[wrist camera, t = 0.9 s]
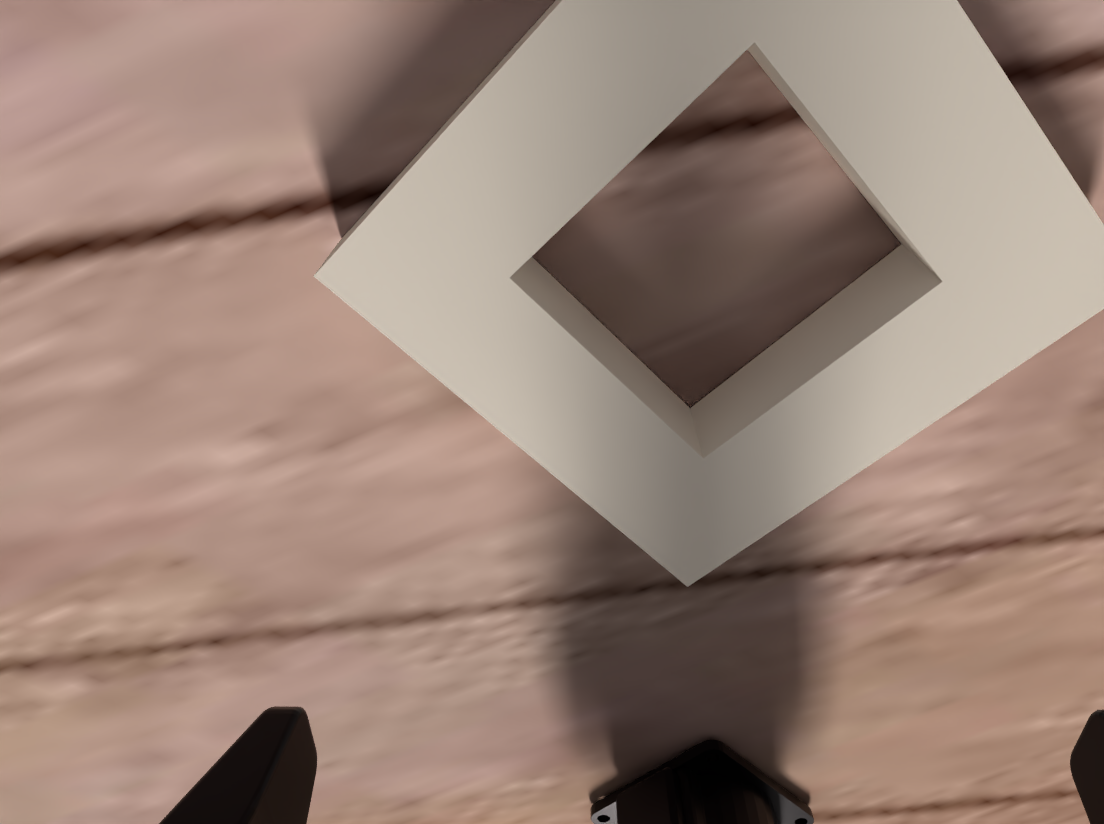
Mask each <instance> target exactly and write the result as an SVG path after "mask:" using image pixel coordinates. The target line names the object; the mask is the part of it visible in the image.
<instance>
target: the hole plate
mask: <svg viewBox="0 0 1104 824" xmlns="http://www.w3.org/2000/svg"><path fill="white" fill-rule="evenodd" d="M746 50H748V51H749V52H750V54H751V55H752V56H753V58H754V59H755V60H756V61H757V63H758V64H759V65H760V66H761V68H762V69H763V70H764V71H765V73H766V74H767V75H768V76H769V78H770V79H771V80H772V81H773V83H774V84H775V85H776V86H777V88H778V89H779V90H780V92H781V93H782V94H783V95H784V97H785V98H786V99H787V100H788V102H789V103H790V104H791V105H792V107H793V108H794V109H795V110H796V112H797V113H798V114H799V115H800V117H801V118H802V119H803V121H804V122H805V123H806V124H807V126H808V127H809V128H810V129H811V131H812V132H813V133H814V134H815V136H816V137H817V138H818V139H819V141H820V142H821V143H822V144H823V146H824V147H825V148H826V150H827V151H828V152H829V153H830V155H831V156H832V157H833V158H834V160H835V161H836V162H837V163H838V165H839V166H840V167H841V168H842V170H843V171H844V172H845V173H846V175H847V176H848V177H849V178H850V180H851V181H852V182H853V184H854V185H855V186H856V187H857V189H858V190H859V191H860V192H861V194H862V195H863V196H864V197H865V199H866V200H867V201H868V202H869V204H870V205H871V206H872V207H873V209H874V210H875V211H876V213H877V214H878V215H879V216H880V218H881V219H882V220H883V221H884V223H885V224H886V225H887V226H888V228H889V229H890V230H891V231H892V233H893V234H894V235H895V236H896V238H897V239H898V240H899V241H900V243H901V245H900V246H899V247H897V248H896V249H895V250H893V251H892V252H891V253H890V254H888V255H887V256H886V257H884V258H883V259H882V260H881V261H879V262H878V263H877V264H875V265H874V266H873V267H872V268H870V269H869V270H868V271H866V272H865V273H864V274H863V275H861V276H860V277H859V278H857V279H856V280H855V281H853V282H852V283H851V284H850V285H848V286H847V287H846V288H844V289H843V290H842V291H841V292H839V293H838V294H837V295H835V296H834V297H833V298H832V299H830V300H829V301H828V302H826V303H825V304H824V305H823V306H821V307H820V308H819V309H817V310H816V311H815V312H814V313H812V314H811V315H810V316H808V317H807V318H806V319H805V320H803V321H802V322H801V323H799V324H798V325H797V326H795V327H794V328H793V329H792V330H790V331H789V332H788V333H786V334H785V335H784V336H783V337H781V338H780V339H779V340H777V341H776V342H775V343H774V344H772V345H771V346H770V347H768V348H767V349H766V350H765V351H763V352H762V353H761V354H759V355H758V356H757V357H756V358H754V359H753V360H752V361H750V362H749V363H748V364H746V365H745V366H744V367H743V368H741V369H740V370H739V371H737V372H736V373H735V374H734V375H732V376H731V377H730V378H728V379H727V380H726V381H725V382H723V383H722V384H721V385H719V386H718V387H717V388H716V389H714V390H713V391H712V392H710V393H709V394H708V395H707V396H705V397H704V398H703V399H701V400H700V401H699V402H698V403H696V404H695V405H694V406H692V407H691V408H689V407H688V406H687V405H686V404H685V403H684V402H683V401H682V400H681V399H680V398H679V397H678V396H677V395H676V394H675V393H674V392H673V391H672V390H670V389H669V388H668V387H667V386H666V385H665V384H664V383H663V382H662V381H661V380H660V379H659V378H658V377H657V376H656V375H655V374H654V373H653V372H652V371H651V370H650V369H649V368H648V367H646V366H645V365H644V364H643V363H642V362H641V361H640V360H639V359H638V358H637V357H636V356H635V355H634V354H633V353H632V352H631V351H630V350H629V349H628V348H627V347H626V346H625V345H624V344H622V343H621V342H620V341H619V340H618V339H617V338H616V337H615V336H614V335H613V334H612V333H611V332H610V331H609V330H608V329H607V328H606V327H605V326H604V325H603V324H602V323H601V322H600V321H598V320H597V319H596V318H595V317H594V316H593V315H592V314H591V313H590V312H589V311H588V310H587V309H586V308H585V307H584V306H583V305H582V304H581V303H580V302H579V301H578V300H577V299H576V298H574V297H573V296H572V295H571V294H570V293H569V292H568V291H567V290H566V289H565V288H564V287H563V286H562V285H561V284H560V283H559V282H558V281H557V280H556V279H555V278H554V277H553V276H552V275H550V274H549V273H548V272H547V271H546V270H545V269H544V268H543V267H542V266H541V265H540V264H539V263H538V262H537V261H536V260H535V259H534V258H533V257H532V256H533V255H534V254H535V253H536V252H537V251H538V250H539V249H540V248H541V247H542V246H543V245H544V244H545V243H546V242H547V241H548V240H549V239H550V238H551V237H552V236H554V235H555V234H556V233H557V232H558V231H559V230H560V229H561V228H562V227H563V226H564V225H565V224H566V223H567V222H568V221H569V220H570V219H571V218H572V217H573V216H574V215H575V214H576V213H577V212H579V211H580V210H581V209H582V208H583V207H584V206H585V205H586V204H587V203H588V202H589V201H590V200H591V199H592V198H593V197H594V196H595V195H596V194H597V193H598V192H599V191H600V190H601V189H602V188H603V187H605V186H606V185H607V184H608V183H609V182H610V181H611V180H612V179H613V178H614V177H615V176H616V175H617V174H618V173H619V172H620V171H621V170H622V169H623V168H624V167H625V166H626V165H627V164H628V163H630V162H631V161H632V160H633V159H634V158H635V157H636V156H637V155H638V154H639V153H640V152H641V151H642V150H643V149H644V148H645V147H646V146H647V145H648V144H649V143H650V142H651V141H652V140H653V139H655V138H656V137H657V136H658V135H659V134H660V133H661V132H662V131H663V130H664V129H665V128H666V127H667V126H668V125H669V124H670V123H671V122H672V121H673V120H674V119H675V118H676V117H677V116H678V115H680V114H681V113H682V112H683V111H684V110H685V109H686V108H687V107H688V106H689V105H690V104H691V103H692V102H693V101H694V100H695V99H696V98H697V97H698V96H699V95H700V94H701V93H702V92H703V91H705V90H706V89H707V88H708V87H709V86H710V85H711V84H712V83H713V82H714V81H715V80H716V79H717V78H718V77H719V76H720V75H721V74H722V73H723V72H724V71H725V70H726V69H727V68H728V67H730V66H731V65H732V64H733V63H734V62H735V61H736V60H737V59H738V58H739V57H740V56H741V55H742V54H743V53H744V52H745V51H746ZM314 277H315V278H316V279H318V280H319V281H320V282H321V283H322V284H324V285H325V286H326V287H327V288H328V289H330V290H331V291H332V292H333V293H334V294H336V295H337V296H338V297H339V298H341V299H342V300H343V301H344V302H345V303H347V304H348V305H349V306H350V307H351V308H353V309H354V310H355V311H356V312H357V313H359V314H360V315H361V316H362V317H363V318H365V319H366V320H367V321H368V322H369V323H371V324H372V325H373V326H374V327H375V328H377V329H378V330H379V331H380V332H381V333H383V334H384V335H385V336H386V337H387V338H389V339H390V340H391V341H392V342H393V343H395V344H396V345H397V346H398V347H399V348H401V349H402V350H403V351H404V352H405V353H407V354H408V355H409V356H410V357H411V358H413V359H414V360H415V361H416V362H417V363H419V364H420V365H421V366H422V367H424V368H425V369H426V370H427V371H428V372H430V373H431V374H432V375H433V376H434V377H436V378H437V379H438V380H439V381H440V382H442V383H443V384H444V385H445V386H446V387H448V388H449V389H450V390H451V391H452V392H454V393H455V394H456V395H457V396H458V397H460V398H461V399H462V400H463V401H464V402H466V403H467V404H468V405H469V406H470V407H472V408H473V409H474V410H475V411H476V412H478V413H479V414H480V415H481V416H482V417H484V418H485V419H486V420H487V421H488V422H490V423H491V424H492V425H493V426H494V427H496V428H497V429H498V430H499V431H500V432H502V433H503V434H504V435H505V436H507V437H508V438H509V439H510V440H511V441H513V442H514V443H515V444H516V445H517V446H519V447H520V448H521V449H522V450H523V451H525V452H526V453H527V454H528V455H529V456H531V457H532V458H533V459H534V460H535V461H537V462H538V463H539V464H540V465H541V466H543V467H544V468H545V469H546V470H547V471H549V472H550V473H551V474H552V475H553V476H555V477H556V478H557V479H558V480H559V481H561V482H562V483H563V484H564V485H565V486H567V487H568V488H569V489H570V490H571V491H573V492H574V493H575V494H576V495H577V496H579V497H580V498H581V499H582V500H583V501H585V502H586V503H587V504H588V505H590V506H591V507H592V508H593V509H594V510H596V511H597V512H598V513H599V514H600V515H602V516H603V517H604V518H605V519H606V520H608V521H609V522H610V523H611V524H612V525H614V526H615V527H616V528H617V529H618V530H620V531H621V532H622V533H623V534H624V535H626V536H627V537H628V538H629V539H630V540H632V541H633V542H634V543H635V544H636V545H638V546H639V547H640V548H641V549H642V550H644V551H645V552H646V553H647V554H648V555H650V556H651V557H652V558H653V559H654V560H656V561H657V562H658V563H659V564H660V565H662V566H663V567H664V568H665V569H666V570H668V571H669V572H670V573H671V574H673V575H674V576H675V577H676V578H677V579H679V580H680V581H681V582H682V583H683V584H685V585H686V586H687V587H688V586H690V585H691V584H693V583H694V582H696V581H697V580H699V579H700V578H702V577H703V576H705V575H706V574H708V573H709V572H711V571H712V570H714V569H715V568H717V567H718V566H720V565H721V564H723V563H724V562H726V561H727V560H729V559H730V558H732V557H733V556H735V555H736V554H738V553H739V552H741V551H742V550H744V549H745V548H747V547H748V546H750V545H751V544H753V543H754V542H756V541H757V540H759V539H760V538H762V537H763V536H765V535H766V534H768V533H769V532H771V531H772V530H774V529H775V528H777V527H778V526H780V525H781V524H783V523H784V522H786V521H787V520H789V519H790V518H792V517H793V516H795V515H796V514H798V513H799V512H801V511H802V510H804V509H805V508H807V507H808V506H810V505H811V504H813V503H814V502H816V501H817V500H819V499H820V498H821V497H823V496H824V495H826V494H827V493H829V492H830V491H832V490H833V489H835V488H836V487H838V486H839V485H841V484H842V483H844V482H845V481H847V480H848V479H850V478H851V477H853V476H854V475H856V474H857V473H859V472H860V471H862V470H863V469H865V468H866V467H868V466H869V465H871V464H872V463H874V462H875V461H877V460H878V459H880V458H881V457H883V456H884V455H886V454H887V453H889V452H890V451H892V450H893V449H895V448H896V447H898V446H899V445H901V444H902V443H904V442H905V441H907V440H908V439H910V438H911V437H913V436H914V435H916V434H917V433H919V432H920V431H922V430H923V429H925V428H926V427H928V426H929V425H931V424H932V423H934V422H935V421H937V420H938V419H940V418H941V417H943V416H944V415H946V414H947V413H949V412H950V411H952V410H953V409H955V408H956V407H958V406H959V405H961V404H962V403H964V402H965V401H967V400H968V399H970V398H971V397H973V396H974V395H976V394H977V393H979V392H980V391H982V390H983V389H985V388H986V387H988V386H989V385H991V384H992V383H994V382H995V381H997V380H998V379H1000V378H1001V377H1003V376H1004V375H1006V374H1007V373H1009V372H1010V371H1012V370H1013V369H1015V368H1016V367H1018V366H1019V365H1021V364H1022V363H1024V362H1025V361H1026V360H1028V359H1029V358H1031V357H1032V356H1034V355H1035V354H1037V353H1038V352H1040V351H1041V350H1043V349H1044V348H1046V347H1047V346H1049V345H1050V344H1052V343H1053V342H1055V341H1056V340H1058V339H1059V338H1061V337H1062V336H1064V335H1065V334H1067V333H1068V332H1070V331H1071V330H1073V329H1074V328H1076V327H1077V326H1079V325H1080V324H1082V323H1083V322H1085V321H1086V320H1088V319H1089V318H1091V317H1092V316H1094V315H1095V314H1097V313H1098V312H1100V311H1101V310H1103V309H1104V224H1103V223H1102V221H1101V220H1100V218H1099V217H1098V215H1097V214H1096V212H1095V211H1094V209H1093V208H1092V206H1091V205H1090V203H1089V201H1088V200H1087V198H1086V197H1085V195H1084V194H1083V192H1082V191H1081V189H1080V188H1079V186H1078V185H1077V183H1076V182H1075V180H1074V178H1073V177H1072V175H1071V174H1070V172H1069V171H1068V169H1067V168H1066V166H1065V165H1064V163H1063V162H1062V160H1061V159H1060V157H1059V156H1058V154H1057V152H1056V151H1055V149H1054V148H1053V146H1052V145H1051V143H1050V142H1049V140H1048V139H1047V137H1046V136H1045V134H1044V133H1043V131H1042V129H1041V128H1040V126H1039V125H1038V123H1037V122H1036V120H1035V119H1034V117H1033V116H1032V114H1031V113H1030V111H1029V110H1028V108H1027V107H1026V105H1025V103H1024V102H1023V100H1022V99H1021V97H1020V96H1019V94H1018V93H1017V91H1016V90H1015V88H1014V87H1013V85H1012V84H1011V82H1010V80H1009V79H1008V77H1007V76H1006V74H1005V73H1004V71H1003V70H1002V68H1001V67H1000V65H999V64H998V62H997V61H996V59H995V58H994V56H993V54H992V53H991V51H990V50H989V48H988V47H987V45H986V44H985V42H984V41H983V39H982V38H981V36H980V35H979V33H978V32H977V30H976V28H975V27H974V25H973V24H972V22H971V21H970V19H969V18H968V16H967V15H966V13H965V12H964V10H963V9H962V7H961V5H960V4H959V2H958V1H957V0H555V1H554V3H553V4H552V5H551V6H550V7H549V8H548V9H547V10H546V12H545V13H544V14H543V15H542V16H541V17H540V18H539V19H538V20H537V22H536V23H535V24H534V25H533V26H532V27H531V28H530V29H529V30H528V32H527V33H526V34H525V35H524V36H523V37H522V38H521V39H520V41H519V42H518V43H517V44H516V45H515V46H514V47H513V48H512V49H511V51H510V52H509V53H508V54H507V55H506V56H505V57H504V58H503V59H502V61H501V62H500V63H499V64H498V65H497V66H496V67H495V68H494V69H493V71H492V72H491V73H490V74H489V75H488V76H487V77H486V78H485V80H484V81H483V82H482V83H481V84H480V85H479V86H478V87H477V88H476V90H475V91H474V92H473V93H472V94H471V95H470V96H469V97H468V98H467V100H466V101H465V102H464V103H463V104H462V105H461V106H460V107H459V108H458V110H457V111H456V112H455V113H454V114H453V115H452V116H451V117H450V119H449V120H448V121H447V122H446V123H445V124H444V125H443V126H442V127H441V129H440V130H439V131H438V132H437V133H436V134H435V135H434V136H433V137H432V139H431V140H430V141H429V142H428V143H427V144H426V145H425V146H424V147H423V149H422V150H421V151H420V152H419V153H418V154H417V155H416V156H415V158H414V159H413V160H412V161H411V162H410V163H409V164H408V165H407V166H406V168H405V169H404V170H403V171H402V172H401V173H400V174H399V175H398V176H397V178H396V179H395V180H394V181H393V182H392V183H391V184H390V185H389V186H388V188H387V189H386V190H385V191H384V192H383V193H382V194H381V195H380V197H379V198H378V199H377V200H376V201H375V202H374V203H373V204H372V205H371V207H370V208H369V209H368V210H367V211H366V212H365V213H364V214H363V215H362V217H361V218H360V219H359V220H358V221H357V222H356V223H355V224H354V226H353V227H352V228H351V229H350V230H349V231H348V232H347V233H346V234H345V236H344V237H343V238H342V239H341V240H340V241H339V243H338V244H337V245H336V247H335V248H334V249H333V251H332V252H331V253H330V255H329V256H328V258H327V259H326V260H325V262H324V263H323V264H322V266H321V267H320V268H319V270H318V271H317V272H316V274H315V275H314Z"/></svg>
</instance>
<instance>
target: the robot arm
mask: <svg viewBox="0 0 1104 824" xmlns="http://www.w3.org/2000/svg"><path fill="white" fill-rule="evenodd" d="M1070 767H1071V772H1072V776H1073V779H1074V782H1075V785H1076V787H1077V790H1078V792H1079V795H1080V798H1081V800H1082V803H1083V806H1084V808H1085V811H1086V813H1087V816H1088V819H1089V821H1090V824H1104V710H1097V711H1095V712H1094V713H1092V714H1091V716H1090V717H1089V719H1088V721H1087V723H1086V725H1085V727H1084V729H1083V731H1082V733H1081V735H1080V737H1079V739H1078V741H1077V743H1076V745H1075V747H1074V749H1073V751H1072V754H1071V759H1070ZM316 769H317V752H316V747H315V743H314V739H313V736H312V732H311V728H310V724H309V720H308V716H307V714H306V711H305V710H304V709H303V708H302V707H271V708H268V709H267V710H265V711H264V712H263V713H262V714H261V715H260V716H259V717H258V718H257V719H256V720H255V721H254V722H253V723H252V724H251V725H250V727H249V728H248V729H247V730H246V731H245V732H244V733H243V734H242V735H241V736H240V737H239V738H238V739H237V740H236V742H235V743H234V744H233V745H232V746H231V747H230V748H229V749H228V750H227V751H226V752H225V753H224V754H223V755H222V757H221V758H220V759H219V760H218V761H217V762H216V763H215V764H214V765H213V766H212V767H211V768H210V769H209V771H208V772H207V773H206V774H205V775H204V776H203V777H202V778H201V779H200V780H199V781H198V782H197V783H196V784H195V786H194V787H193V788H192V789H191V790H190V791H189V792H188V793H187V794H186V795H185V796H184V797H183V798H182V800H181V801H180V802H179V803H178V804H177V805H176V806H175V807H174V808H173V809H172V810H171V811H170V812H169V813H168V815H167V816H166V817H165V818H164V819H163V820H162V821H161V822H160V823H159V824H306V823H307V818H308V812H309V807H310V802H311V797H312V791H313V786H314V781H315V775H316ZM591 820H592V822H593V823H594V824H813V823H814V819H813V815H812V812H811V809H810V808H809V807H808V806H807V805H805V804H804V803H803V802H801V801H800V800H799V799H797V798H796V797H795V796H793V795H792V794H791V793H789V792H788V791H787V790H785V789H784V788H782V787H781V786H780V785H778V784H777V783H776V782H774V781H773V780H772V779H770V778H769V777H768V776H766V775H765V774H764V773H762V772H761V771H760V770H758V769H757V768H755V767H754V766H753V765H751V764H750V763H749V762H747V761H746V760H745V759H743V758H742V757H741V756H739V755H738V754H737V753H735V752H734V751H732V750H731V749H730V748H728V747H727V746H726V745H724V744H723V743H722V742H720V741H717V740H707V741H704V742H702V743H700V744H699V745H697V746H695V747H693V748H692V749H690V750H688V751H686V752H685V753H683V754H681V755H679V756H678V757H676V758H674V759H672V760H670V761H669V762H667V763H665V764H663V765H662V766H660V767H658V768H656V769H655V770H653V771H651V772H649V773H648V774H646V775H644V776H642V777H641V778H639V779H637V780H635V781H634V782H632V783H630V784H628V785H627V786H625V787H623V788H621V789H619V790H618V791H616V792H614V793H612V794H611V795H609V796H607V797H605V798H604V799H602V800H600V801H598V802H597V803H595V804H594V805H592V807H591Z"/></svg>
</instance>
